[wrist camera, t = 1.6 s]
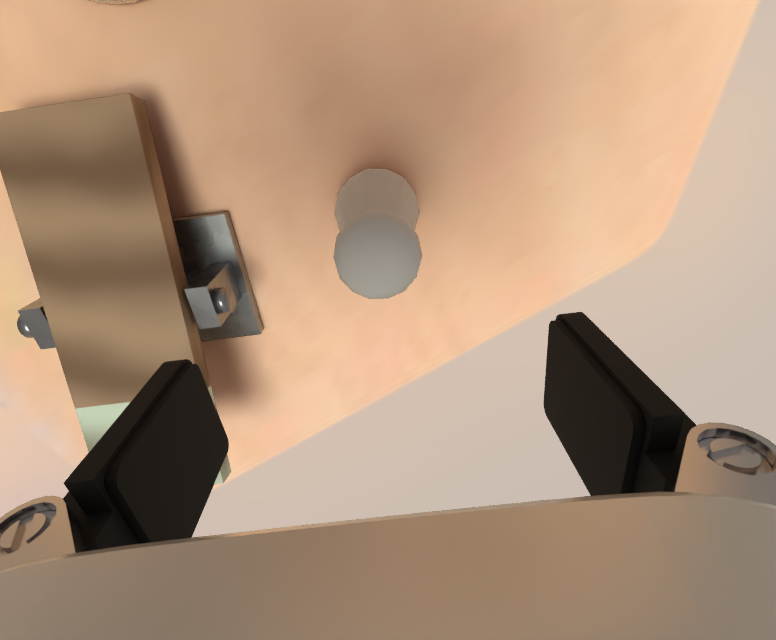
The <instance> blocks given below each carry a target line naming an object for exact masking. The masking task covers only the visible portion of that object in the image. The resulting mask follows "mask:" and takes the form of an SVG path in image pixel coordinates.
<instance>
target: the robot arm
mask: <svg viewBox="0 0 776 640" xmlns="http://www.w3.org/2000/svg"><path fill="white" fill-rule="evenodd" d="M91 1H94V2H101V3H108V4H124V3H135V2H137V1H140V0H91ZM548 335H549V336H548V349H547V364H546V377H545V391H544V409H545V413H546V416H547V418H548V419H549V421H550V423H551V425H552V427H553V428H554V430H555V432H556V434H557V435H558V437H559V439H560V441H561V443H562V445H563V446H564V448H565V450H566V452H567V453H568V455H569V457H570V459H571V461H572V462H573V464H574V466H575V468H576V470H577V471H578V473H579V475H580V477H581V479H582V480H583V482H584V484H585V486H586V488H587V489H588V491H589V493H590V495H591V496H585V497H575V498H565V499H554V500H541V501H532V502H522V503H512V504H502V505H492V506H482V507H472V508H462V509H453V510H442V511H432V512H422V513H413V514H404V515H394V516H385V517H376V518H366V519H356V520H347V521H338V522H328V523H319V524H311V525H301V526H291V527H283V528H274V529H265V530H257V531H247V532H238V533H229V534H221V535H211V536H203V537H194V538H191V537H192V535H193V532H194V530H195V528H196V525H197V523H198V521H199V518H200V516H201V514H202V511H203V509H204V507H205V504H206V502H207V499H208V497H209V495H210V492H211V490H212V488H213V485H214V483H215V481H216V478H217V476H218V474H219V471H220V469H221V467H222V464H223V462H224V460H225V457H226V455H227V452H228V447H229V443H228V438H227V435H226V433H225V430H224V428H223V425H222V423H221V420H220V418H219V415H218V413H217V410H216V408H215V405H214V403H213V400H212V398H211V395H210V393H209V390H208V388H207V385H206V383H205V380H204V378H203V375H202V373H201V370H200V368H199V366H198V365H197V364H192V362H191V361H190V360H188V359H183V360H175V361H167V362H164V363H163V364H162V365H161V366H160V367H159V368H158V370H157V371H156V372H155V373H154V374H153V376H152V377H151V378H150V379H149V380H148V382H147V383H146V384H145V385H144V386H143V388H142V389H141V390H140V391H139V393H138V394H137V395H136V396H135V397H134V399H133V400H132V401H131V402H130V403H129V405H128V406H127V407H126V408H125V409H124V411H123V412H122V413H121V414H120V416H119V417H118V418H117V419H116V420H115V422H114V423H113V424H112V425H111V426H110V428H109V429H108V430H107V431H106V432H105V434H104V435H103V436H102V437H101V439H100V440H99V441H98V442H97V443H96V445H95V446H94V447H93V448H92V449H91V451H90V452H89V453H88V454H87V456H86V457H85V458H84V459H83V460H82V462H81V463H80V464H79V465H78V466H77V468H76V469H75V470H74V471H73V472H72V474H71V475H70V476H69V477H68V479H67V480H66V481H65V482H64V484H65V486H66V487H67V489H68V490H69V492H68V493H67V495H66V496H65V497H64V498H63V499H62V498H60V497H57V496H45V497H41V498H37V499H34V500H31V501H29V502H27V503H24V504H22V505H20V506H18V507H16V508H15V509H13V510H11V511H10V512H8V513H6V514H5V515H4V516H2V517H1V518H0V640H776V445H775V444H773V443H772V442H771V441H769V440H768V439H766V438H764V437H762V436H761V435H759V434H757V433H755V432H753V431H750V430H747V429H744V428H742V427H739V426H735V425H730V424H725V423H705V424H700V425H696V424H695V423H694V422H693V421H692V420H691V419H690V418H689V417H688V416H687V415H685V413H684V412H683V411H682V410H681V409H680V408H679V407H678V406H677V405H676V404H675V403H674V402H673V401H672V400H671V399H670V398H669V397H668V396H667V395H666V394H665V393H664V392H663V391H662V390H661V389H660V388H659V387H658V386H657V385H656V384H655V383H653V381H652V380H651V379H649V377H648V376H647V375H646V374H645V373H644V372H642V371H641V369H640V368H638V367H637V366H636V365H635V364H634V363H633V362H632V361H631V360H630V359H629V358H628V357H627V356H626V355H625V354H624V353H623V352H622V351H621V350H620V349H619V348H618V347H617V346H616V345H615V344H614V343H613V342H612V341H611V340H610V339H609V338H608V337H607V336H606V335H605V334H604V333H603V332H602V331H601V330H600V329H599V328H598V327H597V326H596V325H595V324H594V323H593V322H592V321H591V320H590V319H589V318H588V317H587V316H586V315H585V314H583V313H582V312H576V313H568V314H559V315H558V316H557V318H556V320H555V321H551V322H550V324H549V334H548Z"/></svg>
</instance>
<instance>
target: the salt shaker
mask: <svg viewBox="0 0 776 640" xmlns="http://www.w3.org/2000/svg"><path fill="white" fill-rule="evenodd" d="M418 215H419V207H418V203H417V198H416V194H415V192H414V190H413V189H412V188H411V186H410V185H409V183H408V182H407V181H406V179H405V178H404V177H403V176H401V175H398V174H396V173H394V172H392V171H390V170H388V169H364V170H363V171H361V172H359V173H357V174H356V175H354V176H352V177H350V178H349V179H348V180H347V182H346V183H345V184H344V186H343V187H342V188H341V190H340V191H339V193H338V194H337V201H336V208H335V216H336V219H337V223H338V226H339V229H340V233H339V234H338V236H337V238H336V244H335V251H334V260H335V264H336V267H337V270H338V273H339V277H340V279H341V280H342V281H343V282H344V283H345V284H346V285H347V286H348V287H349V288H350V289H351V290H352V292H354V293H357V294H359V295H362V296H364V297H366V298H369V299H383V298H390V297H392V296H394V295H397V294H399V293H401V292H403V291H405V290H406V289H407V287H408V286H409V285H410V284H411V283H412V281H413V280H414V279H415V278H416V276H417V273H418V269H419V265H420V262H421V258H422V252H421V248H420V243H419V239H418V236H417V234H416V232H415V231H414V230H415V227H416V223H417V219H418Z"/></svg>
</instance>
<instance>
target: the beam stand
mask: <svg viewBox="0 0 776 640" xmlns="http://www.w3.org/2000/svg"><path fill="white" fill-rule="evenodd" d="M172 221H173V225H174V230H175V234H176V238H177V242H178V247H179V251H180V255H181V259H182V264H183V268H184V272H185V277H186V281H187V285H188V286H187V287H186V288H185V289H184V291H185V293H186V296H187V298H188V301H189V303H190V306H191V309H192V311H193V314H194V316H195V319H196V323H197V328H198V332H199V336H200V340H201V341H209V340H217V339H225V338H233V337H241V336H249V335H257V334H261V333H262V331H263V329H264V327H263V324H262V321H261V317H260V314H259V311H258V308H257V304H256V301H255V298H254V294H253V291H252V288H251V284H250V281H249V278H248V274H247V271H246V268H245V265H244V261H243V258H242V255H241V251H240V248H239V245H238V241H237V238H236V235H235V231H234V228H233V225H232V221H231V218H230V215H229V212H228V211H225V212H218V213H210V214H203V215H196V216H188V217H181V218H173V219H172ZM18 312H19V314H20V316H19V318H18V321H17V326H18V329H19V331H20V333H21V334H22V335H23V336H25V337H28V338H33V337H34V339H35V340H36V342H37V344H38V345H39V347H40V349H47V348H55V347H56V346H55V342H54V339H53V336H52V333H51V330H50V327H49V323H48V320H47V317H46V314H45V311H44V307H43V304H42V301H41V298H40V299H38V300H36V301H34V302H32V303H31V304H29V305H27V306H25V307H24V308H22V309H20V310H18Z"/></svg>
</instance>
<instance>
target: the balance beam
mask: <svg viewBox="0 0 776 640" xmlns="http://www.w3.org/2000/svg"><path fill="white" fill-rule="evenodd" d="M0 170H1V173H2V177H3V180H4V183H5V186H6V189H7V193H8V196H9V199H10V202H11V205H12V209H13V212H14V215H15V218H16V221H17V224H18V228H19V231H20V234H21V237H22V240H23V244H24V247H25V250H26V253H27V256H28V260H29V263H30V266H31V269H32V272H33V276H34V279H35V282H36V285H37V288H38V291H39V295H40V298H41V301H42V304H43V307H44V311H45V314H46V317H47V320H48V323H49V327H50V330H51V333H52V336H53V339H54V342H55V346H56V349H57V352H58V355H59V358H60V362H61V365H62V368H63V371H64V374H65V378H66V381H67V384H68V387H69V390H70V393H71V397H72V400H73V403H74V406H75V409H76V413H77V416H78V419H79V422H80V425H81V429H82V432H83V435H84V438H85V441H86V444H87V448H88V451H89V452H90V451H91V449H92V448H93V447H94V446H95V445H96V443H97V442H98V441H99V440H100V439H101V437H102V436H103V435H104V434H105V432H106V431H107V430H108V429H109V428H110V426H111V425H112V424H113V423H114V422H115V420H116V419H117V418H118V417H119V416H120V414H121V413H122V412H123V411H124V409H125V408H126V407H127V406H128V405H129V403H130V402H131V401H132V400H133V399H134V397H135V396H136V395H137V394H138V393H139V391H140V390H141V389H142V388H143V386H144V385H145V384H146V383H147V382H148V380H149V379H150V378H151V377H152V376H153V374H154V373H155V372H156V371H157V370H158V368H159V367H160V366H161V365H162V364H163V363H164V362H167V361H175V360H183V359H188V360H190V361H191V362H192V364H197V365H198V366H199V368H200V370H201V373H202V375H203V378H204V380H205V383H206V385H207V388H208V390H209V393H210V395H211V398H212V400H213V403H214V405H215V408H216V404H215V400H214V396H213V392H212V387H211V383H210V379H209V375H208V370H207V366H206V362H205V358H204V353H203V349H202V345H201V340H200V336H199V332H198V328H197V323H196V319H195V316H194V314H193V311H192V309H191V306H190V303H189V301H188V298H187V296H186V293H185V291H184V289H185V288H186V287H187V286H188V285H187V281H186V277H185V272H184V268H183V264H182V259H181V255H180V251H179V247H178V242H177V238H176V234H175V230H174V225H173V221H172V217H171V213H170V208H169V204H168V200H167V196H166V191H165V187H164V183H163V178H162V174H161V170H160V166H159V161H158V157H157V153H156V149H155V144H154V140H153V136H152V132H151V127H150V123H149V119H148V114H147V110H146V106H145V102H144V101H143V100H141V99H139V98H137V97H135V96H133V95H132V94H130V93H129V94H123V95H116V96H109V97H102V98H95V99H88V100H81V101H74V102H68V103H61V104H54V105H47V106H40V107H33V108H26V109H20V110H13V111H6V112H0ZM216 410H217V409H216ZM230 472H231V468H230V464H229V460H228V456H227V455H226V457H225V460H224V462H223V464H222V467H221V469H220V471H219V474H218V476H217V478H216V481H215V483H214V484H221V483H224V482H225V480H226V478H227V477H228V475H229V474H230Z"/></svg>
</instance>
